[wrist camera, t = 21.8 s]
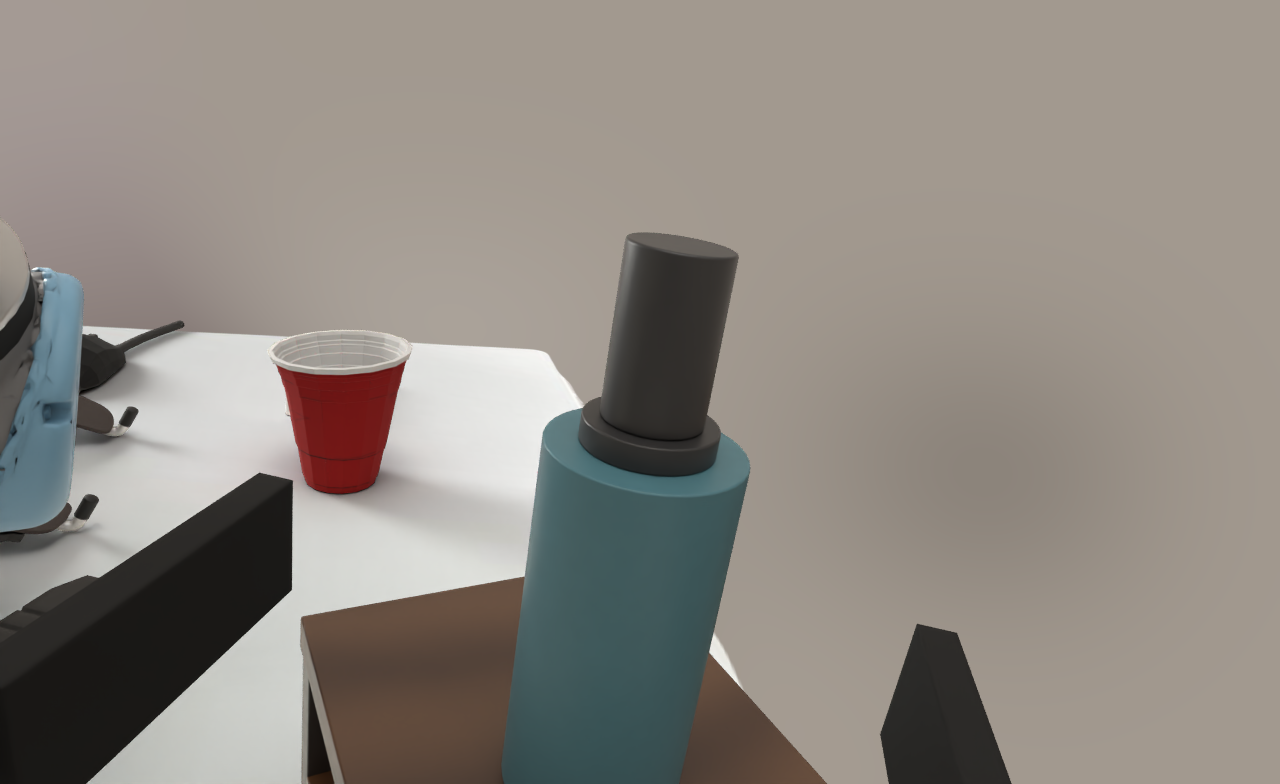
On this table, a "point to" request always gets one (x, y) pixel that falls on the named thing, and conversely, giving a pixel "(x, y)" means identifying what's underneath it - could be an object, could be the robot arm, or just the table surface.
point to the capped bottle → (630, 537)
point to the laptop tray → (99, 422)
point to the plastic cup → (341, 402)
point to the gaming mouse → (98, 361)
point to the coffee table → (476, 698)
